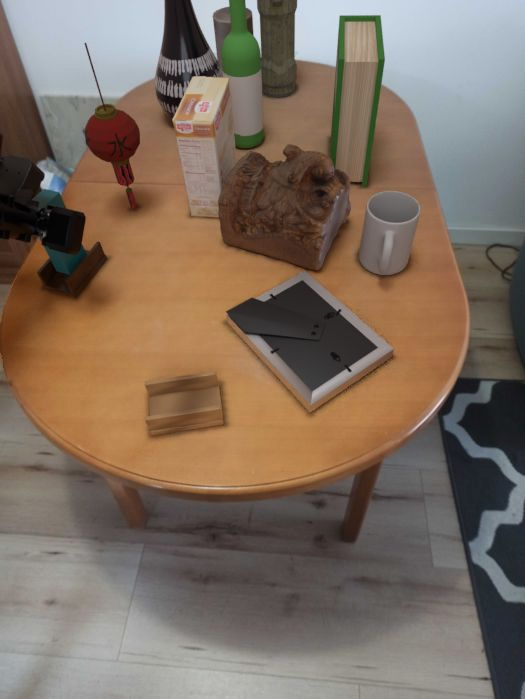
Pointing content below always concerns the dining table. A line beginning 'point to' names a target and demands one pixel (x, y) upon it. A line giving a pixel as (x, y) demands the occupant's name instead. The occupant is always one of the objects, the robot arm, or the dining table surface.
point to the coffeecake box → (205, 141)
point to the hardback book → (356, 94)
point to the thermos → (278, 47)
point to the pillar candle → (226, 27)
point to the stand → (184, 403)
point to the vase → (181, 55)
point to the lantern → (113, 140)
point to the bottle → (243, 78)
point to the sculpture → (285, 206)
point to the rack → (73, 273)
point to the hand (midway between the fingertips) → (62, 227)
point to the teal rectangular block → (59, 259)
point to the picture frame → (308, 339)
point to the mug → (388, 232)
